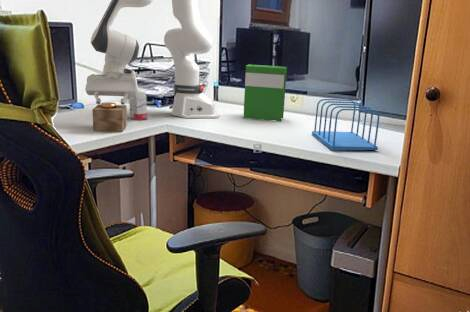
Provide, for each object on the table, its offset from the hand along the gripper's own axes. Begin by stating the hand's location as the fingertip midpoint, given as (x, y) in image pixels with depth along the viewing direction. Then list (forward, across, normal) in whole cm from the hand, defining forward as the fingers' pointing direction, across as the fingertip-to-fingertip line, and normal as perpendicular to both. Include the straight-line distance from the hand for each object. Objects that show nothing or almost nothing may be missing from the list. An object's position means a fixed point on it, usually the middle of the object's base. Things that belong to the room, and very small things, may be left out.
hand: (110, 103), depth 184 cm
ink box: (-8, +8, +23) cm, 25 cm away
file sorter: (+18, +89, -2) cm, 91 cm away
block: (+7, 0, +7) cm, 10 cm away
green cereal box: (-14, +65, +29) cm, 73 cm away
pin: (+7, -1, +6) cm, 10 cm away
